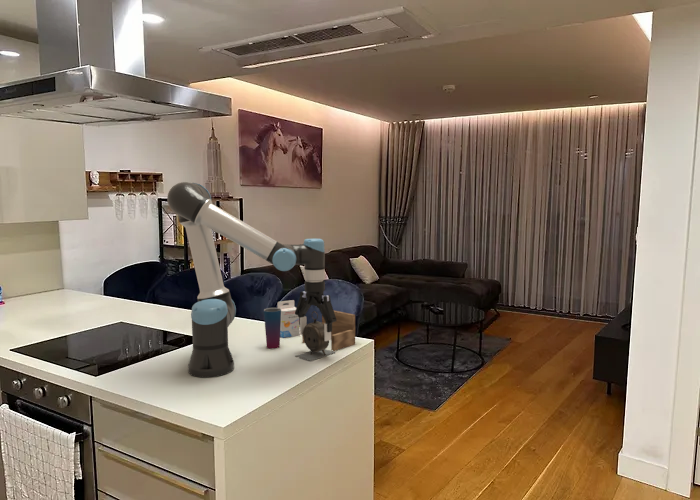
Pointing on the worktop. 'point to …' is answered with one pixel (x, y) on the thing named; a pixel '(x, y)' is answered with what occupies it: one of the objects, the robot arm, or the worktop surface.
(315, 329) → the alarm clock
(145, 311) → the worktop surface
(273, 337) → the cup
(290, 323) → the ink box
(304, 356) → the slate pad
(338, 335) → the wooden holder
